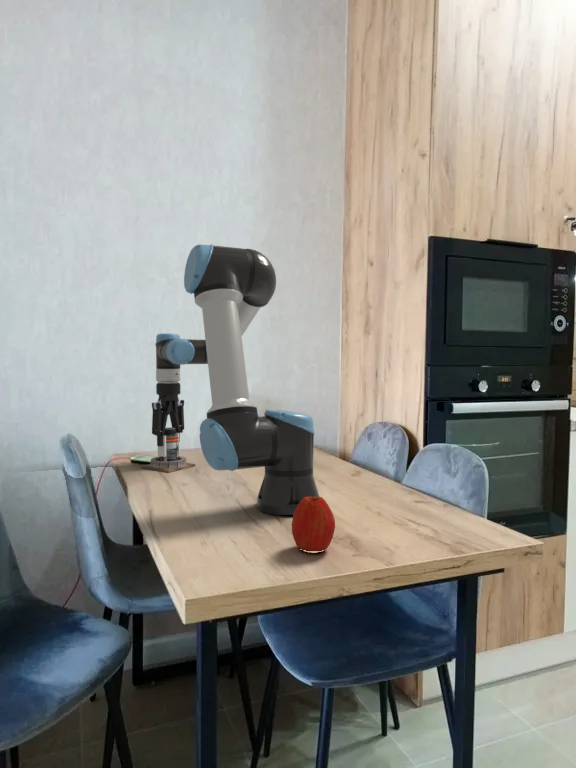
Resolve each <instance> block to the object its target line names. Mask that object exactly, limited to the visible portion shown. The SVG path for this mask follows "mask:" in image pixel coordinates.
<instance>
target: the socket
mask: <svg viewBox="0 0 576 768" xmlns="http://www.w3.org/2000/svg"><path fill="white" fill-rule="evenodd" d="M193 467H196V464H195V463H190V462H187V458H186V457H185V456H181V455H179V460H177V461H169V462H166V461H160V456H156V457H152V458H151V459H150V463H149V464H144V465H141V466H140V468H141V469H146V470H150V471H151V470H152V471H157V472H162V473H167V474H168V473H173V472H177V471H180V470H181V471H182V470H185V469H190V468H193Z"/></svg>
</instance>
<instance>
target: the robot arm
mask: <svg viewBox="0 0 576 768" xmlns="http://www.w3.org/2000/svg"><path fill="white" fill-rule="evenodd" d="M185 263H186V264H185V267H184V275H183V277H184V278H183V283H184V284H183V285H184V289H185V291H186V293H188V294H190V295H192V294H193V297H194V298H193V299H194V303H195V305H197V306H198V307H199V308H200V309H201V312H202V319H203V330H204V339H188V338H187V339H185V338H181V336H180V334H178V333H157V335H156V338H155V339H156V340H155V363H156V365H155V366H156V367H155V368H156V369H155V371H156V372H155V377H156V378H155V381H156V382H157V383H156V384H155V389H156V390H155V391H156V392H155V393H156V395H158V399H157V401H155V402H151V408H152V415H151V416H152V419H151V421H152V422H151V434H152V435H153V436H156V446H157V457H159V456H162V457H166V436H164V433H165V428H167V424H168V423H167V421H168V417H169V418H170V424H171V428H175V430H176V432H175V434H176V435H178V437H179V443H180V442H181V440H180V439H181V434H182V433H184V432H183V431H184V430H185V413H184V405H185V400H184V399H179V395H180V394H181V383H180V381H181V366H183V365H207V368H208V369H207V370H208V377H209V386H210V387H209V388H210V395H211V406H210V408H209V409H208V410H207V412H206V419H204V420H202V422H201V423H200V426H199V432H200V433H199V443H200V449H201V452H202V454H203V456H204V459H205V460H206V462H207V464H208V466H209V467H211V468H212V469H213V470H215V471H230V472H233V471H235V470H245V469H253V468H254V469H255V468H263V467H264V476H263V480H262V482H261V486H260V489H259V491H258V495H257V496H256V507H257V509H258V510H259V511H261V512H262V513H265V514H268V515H273V514H274V515H275V516H281V515H294V512H295V510H296V508H297V506H298V505H299V503H300V502H301V500H302V499H303V498H304V497H313V496H314V497H320V494H319V490H318V487H317V484H316V481H315V477H314V448H315V447H314V443H315V442H314V440H315V439H314V436H315V426H314V419H313V417H312V416H311V415H309V414H307V413H303V412H298V411H297V412H296V411H290V410H289V411H288V410H282V409H281V410H280V409H266V410H265V411H264V413H263V414H264V416H259V415H258V407H257V405H255V404H254V403H252V402H251V400H250V395H249V394H250V393H249V387H248V378H247V376H248V375H247V369H246V363H245V362H246V361H245V353H244V345H243V338H242V337H243V335H244V334H245V332H247V331H246V330H247V329H248V327H249V325H250V324H251V323H252V321H253V320H254V318H255V316H256V315H257V314H258V312H259V311H260V309H262V308H263V307H266V306H267V305H268V304H269V302H270V301H271V300H272V298H273V296H274V294H275V291H276V286H277V276H276V270H275V267H274V266H273V264H272V262H271V260H269V259H268V257H266V255H265V254H263V253H262V252H260V251H258V250H257V249H256V250H255V249H252V248H240V247H230V246H221V245H214V244H213V243H212V244H197V245H194V246H193V247H192V249H191V250H190V252H189V254H188V257H187V259H186V262H185Z"/></svg>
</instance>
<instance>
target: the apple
mask: <svg viewBox="0 0 576 768" xmlns="http://www.w3.org/2000/svg"><path fill="white" fill-rule="evenodd" d="M335 519H336V518H335V516H334V514H333V511H332V510H331V507H330V505H329V504H328V502H327V501H326V499H324V498H323V497H322V496H319V497H314V496H313V497H304V498H303V499H302V500H301V502H300V503H299V505H298V506H297V508H296V510H295V512H294V515H293V516H292V521H291V534H292V537H293V540H294V542H295V545H296V546H297V548H298V549H299V548H300V549H302V550H306V551H322V550H325V549H326V550H327V549H328V548H329V546H330V545H331V542H332V540H333V538H334V534H335V529H336V520H335ZM300 549H299V550H300Z"/></svg>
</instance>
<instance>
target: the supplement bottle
mask: <svg viewBox="0 0 576 768" xmlns="http://www.w3.org/2000/svg"><path fill="white" fill-rule="evenodd" d="M175 432H176V430H175V428H172V426H171V427H166V428H165V433H164V436H166V457H162V456H160V461H166V462H169V461H177V460H179V456H180V442H179V437H178V435H176V434H175Z"/></svg>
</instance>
